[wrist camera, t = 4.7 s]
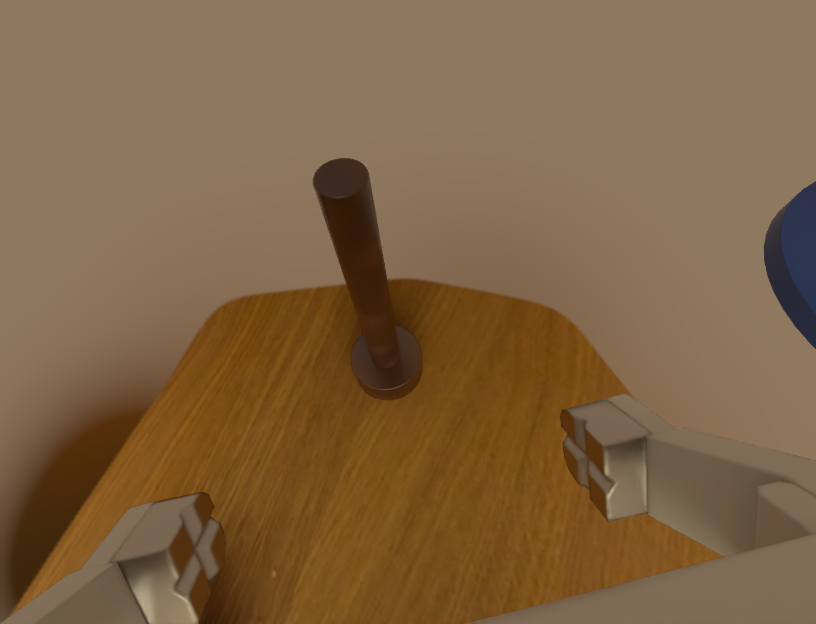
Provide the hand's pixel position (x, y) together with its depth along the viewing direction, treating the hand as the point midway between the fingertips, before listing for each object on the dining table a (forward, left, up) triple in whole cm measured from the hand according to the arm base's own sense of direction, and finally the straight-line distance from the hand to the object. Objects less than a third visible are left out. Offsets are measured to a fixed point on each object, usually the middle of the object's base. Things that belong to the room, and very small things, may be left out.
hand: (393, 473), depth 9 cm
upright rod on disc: (-3, -10, -18) cm, 21 cm away
